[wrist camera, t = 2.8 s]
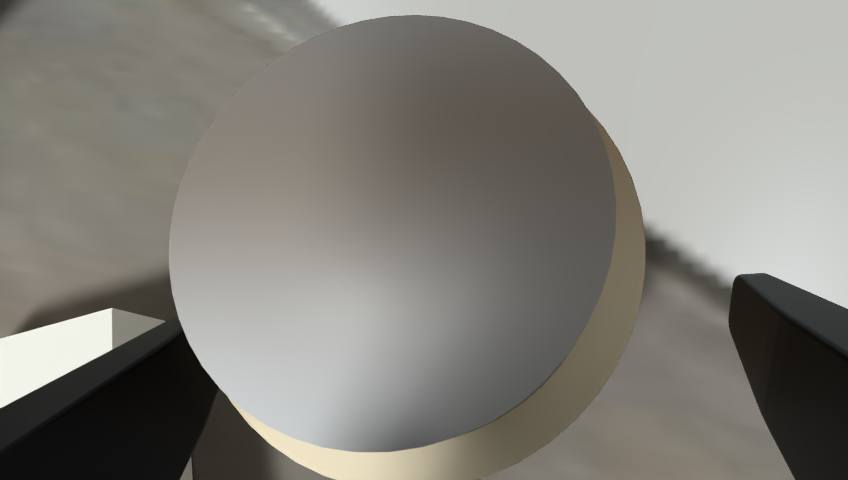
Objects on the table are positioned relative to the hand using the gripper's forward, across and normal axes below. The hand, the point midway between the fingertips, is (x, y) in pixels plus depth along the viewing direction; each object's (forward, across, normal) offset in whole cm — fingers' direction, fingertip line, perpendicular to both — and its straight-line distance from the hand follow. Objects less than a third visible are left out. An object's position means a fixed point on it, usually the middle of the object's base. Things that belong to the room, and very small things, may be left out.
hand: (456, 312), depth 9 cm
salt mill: (+6, 0, +6) cm, 8 cm away
